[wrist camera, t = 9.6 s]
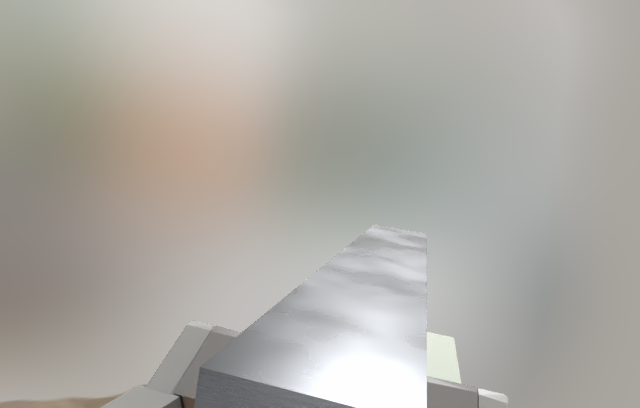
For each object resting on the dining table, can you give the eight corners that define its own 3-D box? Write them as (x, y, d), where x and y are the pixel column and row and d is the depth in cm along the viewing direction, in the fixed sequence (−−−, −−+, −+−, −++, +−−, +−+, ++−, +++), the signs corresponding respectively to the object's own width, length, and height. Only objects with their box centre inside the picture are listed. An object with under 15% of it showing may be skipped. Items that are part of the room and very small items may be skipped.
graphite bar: (385, 652, 6) (426, 425, 6) (170, 574, 7) (199, 366, 6) (417, 285, 28) (426, 233, 27) (365, 275, 28) (374, 224, 28)
